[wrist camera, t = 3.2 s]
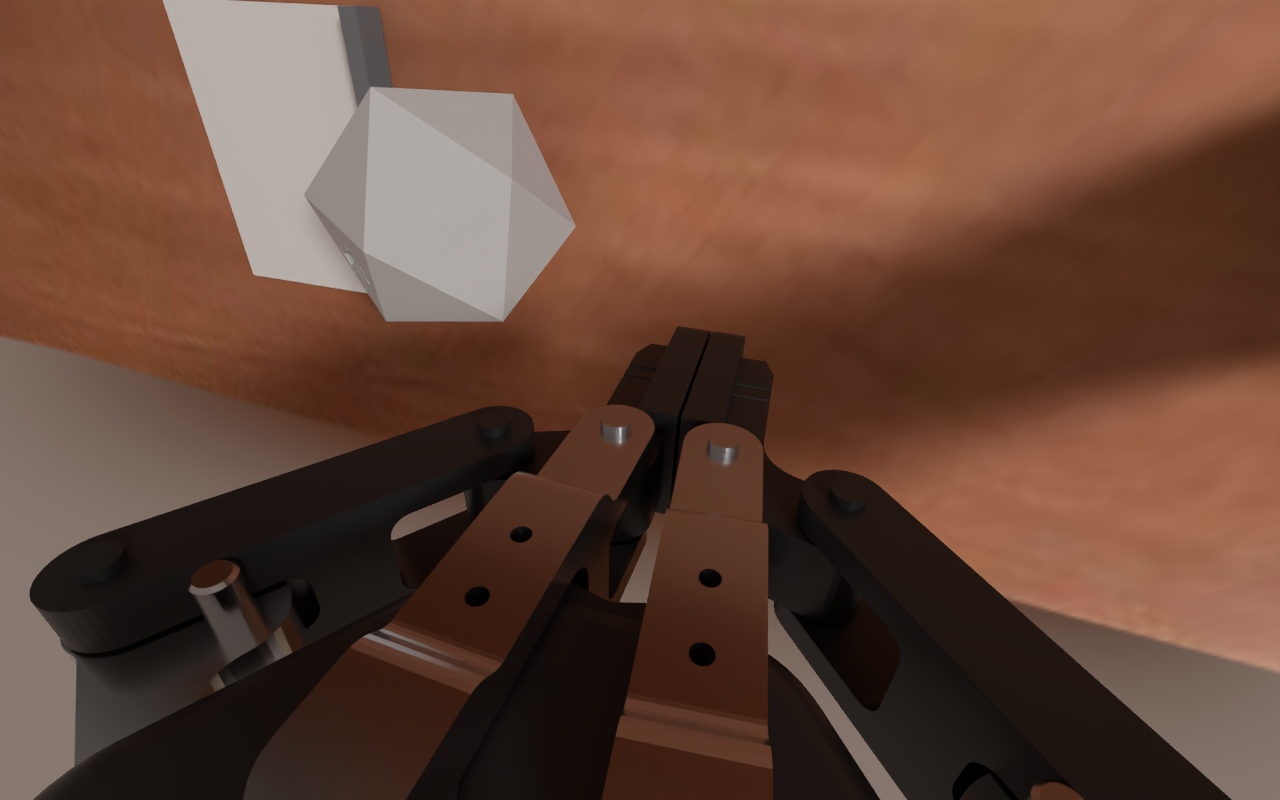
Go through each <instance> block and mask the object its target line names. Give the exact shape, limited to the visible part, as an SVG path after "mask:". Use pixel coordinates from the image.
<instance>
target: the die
mask: <svg viewBox="0 0 1280 800" xmlns="http://www.w3.org/2000/svg"><path fill="white" fill-rule="evenodd" d="M304 196H305V198H306V199H307V201H308V202H309V204H310V205H311V207H312V208H313V210H314V211H315V213H316V214H317V216H318V218H319V219H320V221H321V222H322V224H323V225H324V227H325V228H326V230H327V231H328V233H329V234H330V236H331V237H332V239H333V241H334V242H335V244H336V245H337V247H338V248H339V250H340V251H341V253H342V254H343V256H344V257H345V259H346V260H347V262H348V264H349V265H350V267H351V268H352V270H353V271H354V273H355V274H356V276H357V277H358V279H359V280H360V282H361V283H362V285H363V287H364V288H365V290H366V291H367V293H368V294H369V296H370V297H371V299H372V300H373V302H374V303H375V305H376V306H377V308H378V310H379V311H380V313H381V314H382V316H383V317H384V319H385V320H386V321H452V322H503V321H504V320H505V319H506V317H507V316H508V315H509V313H510V312H511V311H512V309H513V308H514V307H515V305H516V304H517V303H518V302H519V300H520V299H521V298H522V296H523V295H524V294H525V292H526V291H527V290H528V288H529V287H530V286H531V285H532V283H533V282H534V281H535V279H536V278H537V277H538V275H539V274H540V273H541V271H542V270H543V269H544V268H545V266H546V265H547V264H548V262H549V261H550V260H551V258H552V257H553V256H554V254H555V253H556V252H557V251H558V249H559V248H560V247H561V245H562V244H563V243H564V241H565V240H566V239H567V237H568V236H569V235H570V234H571V232H572V231H573V230H574V228H575V227H576V225H575V223H574V221H573V219H572V217H571V215H570V213H569V211H568V209H567V207H566V204H565V202H564V200H563V198H562V196H561V194H560V192H559V190H558V188H557V186H556V184H555V181H554V179H553V177H552V175H551V173H550V171H549V169H548V167H547V165H546V163H545V160H544V158H543V156H542V154H541V152H540V150H539V148H538V146H537V144H536V142H535V140H534V137H533V135H532V133H531V131H530V129H529V127H528V125H527V123H526V121H525V119H524V116H523V114H522V112H521V110H520V108H519V106H518V104H517V102H516V100H515V98H514V96H513V94H502V93H483V92H463V91H443V90H424V89H404V88H384V87H370V88H369V90H368V92H367V93H366V95H365V96H364V98H363V100H362V101H361V103H360V105H359V106H358V108H357V109H356V111H355V113H354V114H353V116H352V117H351V119H350V121H349V122H348V124H347V126H346V127H345V129H344V130H343V132H342V134H341V135H340V137H339V139H338V140H337V142H336V143H335V145H334V147H333V148H332V150H331V152H330V153H329V155H328V156H327V158H326V160H325V161H324V163H323V164H322V166H321V168H320V169H319V171H318V173H317V174H316V176H315V177H314V179H313V181H312V182H311V184H310V186H309V187H308V189H307V190H306V192H305V194H304Z"/></svg>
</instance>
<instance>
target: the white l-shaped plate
mask: <svg viewBox="0 0 1280 800" xmlns="http://www.w3.org/2000/svg"><path fill="white" fill-rule="evenodd" d="M163 2H164V5H165V8H166V11H167V14H168V17H169V20H170V23H171V26H172V29H173V32H174V35H175V39H176V42H177V45H178V48H179V51H180V54H181V57H182V60H183V63H184V66H185V69H186V72H187V75H188V78H189V81H190V84H191V87H192V90H193V93H194V96H195V99H196V102H197V105H198V108H199V111H200V114H201V117H202V120H203V123H204V126H205V129H206V132H207V135H208V138H209V141H210V144H211V147H212V150H213V153H214V156H215V159H216V162H217V165H218V168H219V172H220V175H221V178H222V181H223V184H224V187H225V190H226V193H227V196H228V199H229V202H230V205H231V208H232V211H233V214H234V217H235V220H236V223H237V226H238V229H239V232H240V235H241V238H242V241H243V244H244V247H245V250H246V253H247V256H248V259H249V262H250V265H251V268H252V271H253V274H254V275H258V276H264V277H270V278H276V279H282V280H289V281H295V282H301V283H307V284H313V285H319V286H325V287H332V288H338V289H344V290H350V291H356V292H362V293H367V291H366V290H365V288H364V287H363V285H362V283H361V282H360V280H359V279H358V277H357V276H356V274H355V273H354V271H353V270H352V268H351V267H350V265H349V264H348V262H347V260H346V259H345V257H344V256H343V254H342V253H341V251H340V250H339V248H338V247H337V245H336V244H335V242H334V241H333V239H332V237H331V236H330V234H329V233H328V231H327V230H326V228H325V227H324V225H323V224H322V222H321V221H320V219H319V218H318V216H317V214H316V213H315V211H314V210H313V208H312V207H311V205H310V204H309V202H308V201H307V199H306V198H305V196H304V194H305V192H306V190H307V189H308V187H309V186H310V184H311V182H312V181H313V179H314V177H315V176H316V174H317V173H318V171H319V169H320V168H321V166H322V164H323V163H324V161H325V160H326V158H327V156H328V155H329V153H330V152H331V150H332V148H333V147H334V145H335V143H336V142H337V140H338V139H339V137H340V135H341V134H342V132H343V130H344V129H345V127H346V126H347V124H348V122H349V121H350V119H351V117H352V116H353V114H354V113H355V111H356V109H357V108H358V106H359V105H360V103H361V101H362V100H363V98H364V96H365V95H366V93H367V92H368V90H369V88H370V87H384V88H392V83H391V77H390V71H389V65H388V59H387V54H386V48H385V42H384V36H383V30H382V24H381V18H380V12H379V7H358V6H337V5H316V4H295V3H274V2H252V1H231V0H163Z"/></svg>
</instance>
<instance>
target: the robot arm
mask: <svg viewBox="0 0 1280 800" xmlns="http://www.w3.org/2000/svg"><path fill="white" fill-rule="evenodd" d="M744 344H745V336H740V335H734V334H727V333H721V332H714V331H713V332H712V334H711V332H710V331H707V330H700V329H693V328H687V327H680V326H678V327H677V329H676V331H675V333H674V335H673V337H672V339H671V341H670V343H669V345H668V346H663V345H656V344H650V345H649V346H647V347H645V348H644V349H642V350H640V351H639V352H637V353H636V354H635V356H634V358H633V360H632V361H631V363H630V365H629V367H628V368H627V370H626V372H625V374H624V377H622V379H621V381H620V383H619V384H618V386H617V388H616V390H615V391H614V393H613V395H612V397H611V398H610V400H609V402H608V404H607V405H605V406H600V407H597V408H594V409H592V410H590V411H588V412H587V413H585V414H584V415H583V416H582V417H581V418H580V420H579V421H578V422H577V424H576V425H575V426H574V427H573V429H572V430H568V431H548V432H534V423H533V420H532V418H531V417H530V416H529V415H528V414H527V413H526V412H524V411H522V410H520V409H517V408H513V407H507V406H492V407H486V408H481V409H478V410H475V411H472V412H469V413H466V414H463V415H460V416H457V417H454V418H451V419H448V420H445V421H442V422H439V423H436V424H433V425H429V426H426V427H423V428H420V429H417V430H414V431H411V432H408V433H405V434H402V435H399V436H396V437H393V438H390V439H387V440H384V441H381V442H378V443H375V444H372V445H369V446H366V447H363V448H360V449H357V450H354V451H351V452H348V453H345V454H342V455H339V456H336V457H333V458H330V459H327V460H324V461H321V462H318V463H315V464H312V465H309V466H306V467H303V468H300V469H297V470H294V471H291V472H288V473H285V474H282V475H279V476H276V477H273V478H270V479H267V480H264V481H261V482H258V483H255V484H252V485H249V486H246V487H243V488H240V489H237V490H234V491H231V492H228V493H225V494H222V495H219V496H216V497H212V498H209V499H207V500H203V501H201V502H197V503H194V504H191V505H189V506H185V507H183V508H179V509H176V510H173V511H170V512H167V513H164V514H161V515H158V516H155V517H152V518H149V519H146V520H143V521H140V522H137V523H134V524H131V525H128V526H125V527H122V528H119V529H117V530H113V531H110V532H107V533H104V534H101V535H98V536H96V537H93V538H90V539H88V540H86V541H83V542H81V543H79V544H77V545H75V546H73V547H72V548H70V549H68V550H67V551H65V552H63V553H62V554H60V555H59V556H58V557H56V558H55V559H54V560H52V561H51V562H50V563H49V564H48V565H47V566H45V567H44V568H43V570H42V571H41V572H40V573H39V574H38V575H37V577H36V578H35V580H34V581H33V583H32V586H31V588H30V599H31V602H32V603H33V604H34V605H35V607H36V608H37V609H38V611H39V612H40V613H41V614H42V616H43V617H44V618H45V619H46V621H47V622H48V623H49V624H50V626H51V627H52V628H53V630H54V631H55V632H56V633H57V635H58V636H59V637H60V642H61V645H62V647H63V649H64V650H65V651H66V652H67V654H68V655H69V656H70V657H71V659H72V660H73V661H74V663H75V664H76V666H77V667H76V717H75V721H76V722H75V767H74V768H72V769H70V770H69V771H68V772H66V773H65V774H64V775H63V776H61V777H60V778H59V779H57V780H56V781H55V782H53V783H52V784H51V785H49V786H48V787H47V788H46V789H45V790H44V791H42V792H41V793H40V794H39V795H38V796H37V797H36V798H35V799H34V800H880V799H879V797H878V796H877V794H876V793H875V791H874V789H873V788H872V786H871V785H870V783H869V782H868V780H867V779H866V777H865V776H864V774H863V772H862V771H861V770H860V768H859V766H858V765H857V763H856V762H855V760H854V759H853V757H852V755H851V754H850V752H849V751H848V749H847V748H846V746H845V745H844V743H843V742H842V740H841V739H840V737H839V735H838V734H837V732H836V731H835V729H834V728H833V726H832V725H831V723H830V722H829V720H828V718H827V717H826V715H825V714H824V712H823V711H822V709H821V708H820V706H819V705H818V704H817V702H816V701H815V699H814V698H813V696H812V695H811V694H810V693H809V692H808V691H807V689H806V688H805V687H804V686H803V684H802V683H801V682H800V681H799V680H798V679H797V678H796V677H795V676H794V675H793V674H792V673H791V672H790V671H789V670H788V669H787V668H786V667H785V666H783V665H782V664H781V663H780V662H778V661H777V660H776V659H775V658H773V657H772V656H770V655H769V654H768V598H769V599H771V600H773V601H774V609H775V614H776V616H777V618H778V620H779V622H780V623H781V625H782V626H783V628H784V629H785V630H786V632H787V633H788V635H789V636H790V637H791V639H792V640H793V641H794V643H795V644H796V646H797V647H798V649H799V650H800V651H801V653H802V654H803V655H804V657H805V658H806V660H807V661H808V662H809V664H810V665H811V667H812V668H813V669H814V671H815V672H816V674H817V675H818V676H819V678H820V679H821V680H822V682H823V683H824V685H825V686H826V687H827V689H828V690H829V692H830V693H831V694H832V696H833V697H834V699H835V700H836V701H837V703H838V704H839V705H840V707H841V708H842V710H843V711H844V712H845V714H846V715H847V717H848V718H849V719H850V721H851V722H852V724H853V725H854V726H855V728H856V729H857V731H858V732H859V733H860V735H861V736H862V737H863V739H864V740H865V742H866V743H867V744H868V746H869V747H870V749H871V750H872V751H873V753H874V754H875V756H876V757H877V758H878V760H879V761H880V762H881V764H882V765H883V767H884V768H885V769H886V771H887V772H888V773H889V775H890V776H891V778H892V779H893V781H894V782H895V783H896V785H897V786H898V788H899V789H900V790H901V792H902V793H903V795H904V796H905V797H906V799H907V800H1231V799H1230V798H1229V797H1228V796H1227V795H1226V794H1225V793H1224V792H1222V791H1221V790H1220V789H1219V788H1218V787H1217V786H1216V785H1215V784H1213V783H1212V782H1211V781H1210V780H1209V779H1208V778H1207V777H1206V776H1204V775H1203V774H1202V773H1201V772H1200V771H1199V770H1198V769H1197V768H1195V767H1194V766H1193V765H1192V764H1191V763H1190V762H1189V761H1188V760H1186V759H1185V758H1184V757H1183V756H1182V755H1181V754H1180V753H1179V752H1177V751H1176V750H1175V749H1174V748H1173V747H1172V746H1171V745H1169V743H1167V742H1166V741H1165V740H1164V739H1163V738H1162V737H1161V736H1160V735H1158V734H1157V733H1156V732H1155V731H1154V730H1153V729H1152V728H1151V727H1149V726H1148V725H1147V724H1146V723H1145V722H1144V721H1142V720H1141V719H1140V718H1139V717H1138V716H1137V715H1136V714H1135V713H1134V712H1133V711H1131V710H1130V709H1129V708H1128V707H1127V706H1126V705H1125V704H1123V703H1122V702H1121V701H1120V700H1119V699H1118V698H1117V697H1116V696H1115V695H1113V694H1112V693H1111V692H1110V691H1109V690H1108V689H1107V688H1106V687H1104V686H1103V685H1102V684H1101V683H1100V682H1099V681H1098V680H1097V679H1095V678H1094V677H1093V676H1092V675H1091V674H1090V673H1089V672H1088V671H1086V670H1085V669H1084V668H1083V667H1082V666H1081V665H1080V664H1079V663H1077V662H1076V661H1075V660H1074V659H1073V658H1072V657H1071V656H1069V655H1068V654H1067V653H1066V652H1065V651H1064V650H1063V649H1062V648H1060V647H1059V646H1058V645H1057V644H1056V643H1055V642H1054V641H1053V640H1052V639H1051V638H1049V637H1048V636H1047V635H1046V634H1045V633H1044V632H1043V631H1042V630H1040V629H1039V628H1038V627H1037V626H1036V625H1035V624H1034V623H1032V622H1031V621H1030V620H1029V619H1028V618H1027V617H1026V616H1025V615H1024V614H1022V613H1021V612H1020V611H1019V610H1018V609H1017V608H1016V607H1015V606H1013V605H1012V604H1011V603H1010V602H1009V601H1008V600H1007V599H1006V598H1004V597H1003V596H1002V595H1001V594H1000V593H999V592H998V591H997V590H995V589H994V588H993V587H992V586H991V585H990V584H989V583H988V582H986V581H985V580H984V579H983V578H982V577H981V576H980V575H979V574H977V573H976V572H975V571H974V570H973V569H972V568H971V567H970V566H968V565H967V564H966V563H965V562H964V561H963V560H962V559H961V558H960V557H958V556H957V555H956V554H955V553H954V552H953V551H952V550H951V549H949V548H948V547H947V546H946V545H945V544H944V543H943V542H942V541H940V540H939V539H938V538H937V537H936V536H935V535H934V534H933V533H931V532H930V531H929V530H928V529H927V528H926V527H925V526H924V525H922V524H921V523H920V522H919V521H918V520H917V519H916V518H915V517H913V516H912V515H911V514H910V513H909V512H908V511H907V510H906V509H904V508H903V507H902V506H901V505H900V504H899V503H898V502H897V501H895V500H894V499H893V498H892V497H891V496H890V495H889V494H888V493H886V492H885V491H884V490H883V489H882V488H881V487H880V486H878V485H877V484H876V483H874V482H873V481H871V480H869V479H867V478H865V477H863V476H861V475H858V474H855V473H852V472H848V471H842V470H824V471H819V472H817V473H814V474H812V475H811V476H809V477H808V478H807V479H806V480H805V481H803V480H801V479H799V478H796V477H794V476H792V475H790V474H788V473H786V472H784V471H782V470H781V469H779V468H778V467H777V466H776V465H774V464H773V463H772V462H771V461H770V459H769V458H768V457H767V455H766V453H765V451H764V436H765V429H766V422H767V416H768V409H769V401H770V395H771V388H772V381H773V373H772V372H771V370H770V368H769V367H768V365H767V364H766V362H764V361H758V360H752V359H745V358H742V357H743V351H744ZM462 492H464V494H465V500H466V506H467V510H465V511H463V512H461V513H458V514H456V515H453V516H451V517H449V518H446V519H444V520H442V521H439V522H437V523H434V524H432V525H430V526H427V527H425V528H423V529H420V530H418V531H416V532H413V533H411V534H409V535H406V536H404V537H401V538H399V539H396V540H391V532H392V529H393V527H394V526H395V524H396V523H397V522H398V521H399V520H400V519H401V518H403V517H404V516H406V515H408V514H410V513H412V512H414V511H417V510H420V509H422V508H425V507H427V506H430V505H432V504H435V503H437V502H439V501H442V500H444V499H447V498H449V497H452V496H454V495H457V494H459V493H462ZM655 512H658V513H663V514H665V518H664V522H663V528H662V532H661V537H660V542H659V546H658V551H657V556H656V560H655V565H654V570H653V574H652V579H651V584H650V589H649V593H648V598H647V603H623V602H622V603H621V602H620V600H621V598H622V595H623V593H624V591H625V589H626V586H627V584H628V582H629V580H630V578H631V576H632V573H633V571H634V569H635V567H636V565H637V562H638V560H639V558H640V556H641V554H642V551H643V549H644V547H645V545H646V542H647V534H648V528H649V526H650V524H651V522H652V519H653V516H654V513H655Z"/></svg>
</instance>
